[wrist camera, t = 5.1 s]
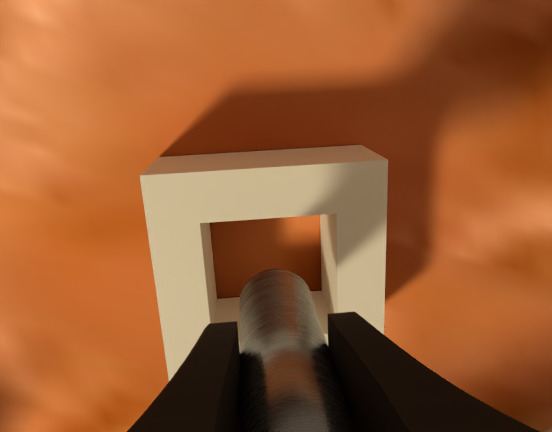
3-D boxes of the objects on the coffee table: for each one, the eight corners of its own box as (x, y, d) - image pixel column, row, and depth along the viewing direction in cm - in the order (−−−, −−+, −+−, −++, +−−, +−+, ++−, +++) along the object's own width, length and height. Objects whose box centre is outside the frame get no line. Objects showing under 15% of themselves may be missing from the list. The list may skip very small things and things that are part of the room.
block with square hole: (359, 321, 18) (382, 368, 15) (181, 336, 17) (169, 387, 15) (361, 144, 16) (388, 159, 13) (158, 157, 15) (140, 175, 12)
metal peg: (318, 328, 13) (456, 775, 5) (245, 341, 13) (255, 819, 5) (307, 260, 12) (446, 642, 4) (231, 275, 12) (210, 690, 4)
